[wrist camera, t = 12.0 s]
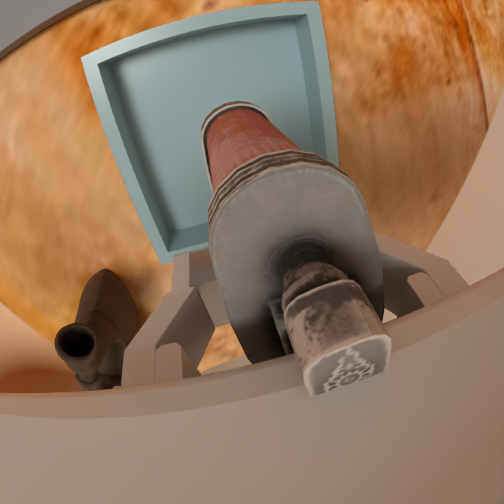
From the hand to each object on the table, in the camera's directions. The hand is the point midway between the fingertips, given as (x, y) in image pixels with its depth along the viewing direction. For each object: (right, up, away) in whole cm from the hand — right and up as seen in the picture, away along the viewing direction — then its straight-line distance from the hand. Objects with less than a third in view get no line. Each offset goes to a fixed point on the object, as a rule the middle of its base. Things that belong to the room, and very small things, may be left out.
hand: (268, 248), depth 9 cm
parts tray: (-3, +10, +13) cm, 17 cm away
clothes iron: (-17, -6, +23) cm, 29 cm away
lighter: (0, +2, +3) cm, 4 cm away
